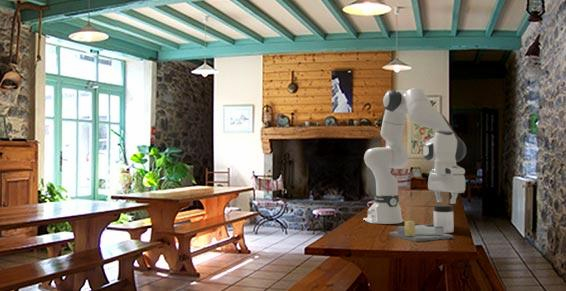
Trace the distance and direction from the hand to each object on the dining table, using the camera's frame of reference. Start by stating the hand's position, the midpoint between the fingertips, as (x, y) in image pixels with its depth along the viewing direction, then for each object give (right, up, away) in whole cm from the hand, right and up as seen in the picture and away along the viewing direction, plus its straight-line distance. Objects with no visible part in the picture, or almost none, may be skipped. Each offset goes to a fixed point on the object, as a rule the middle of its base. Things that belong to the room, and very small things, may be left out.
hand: (446, 202), depth 228 cm
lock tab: (-14, -14, +4) cm, 20 cm away
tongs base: (-9, -15, +11) cm, 20 cm away
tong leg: (-6, -14, +6) cm, 17 cm away
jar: (+5, -16, +22) cm, 28 cm away
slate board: (-8, -16, +10) cm, 20 cm away
